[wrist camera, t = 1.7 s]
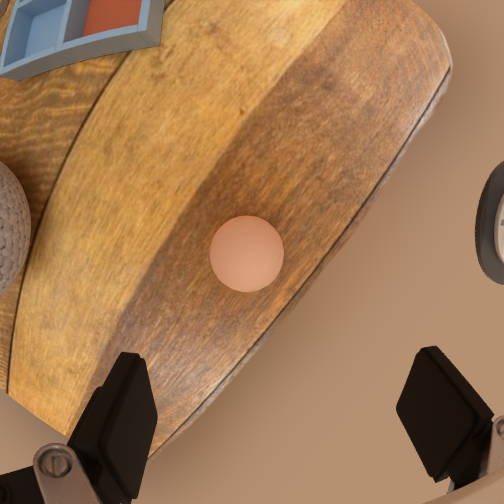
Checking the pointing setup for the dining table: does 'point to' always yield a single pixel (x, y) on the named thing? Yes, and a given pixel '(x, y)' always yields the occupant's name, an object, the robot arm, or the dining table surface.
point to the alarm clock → (3, 6)
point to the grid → (75, 32)
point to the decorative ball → (12, 228)
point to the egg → (246, 253)
